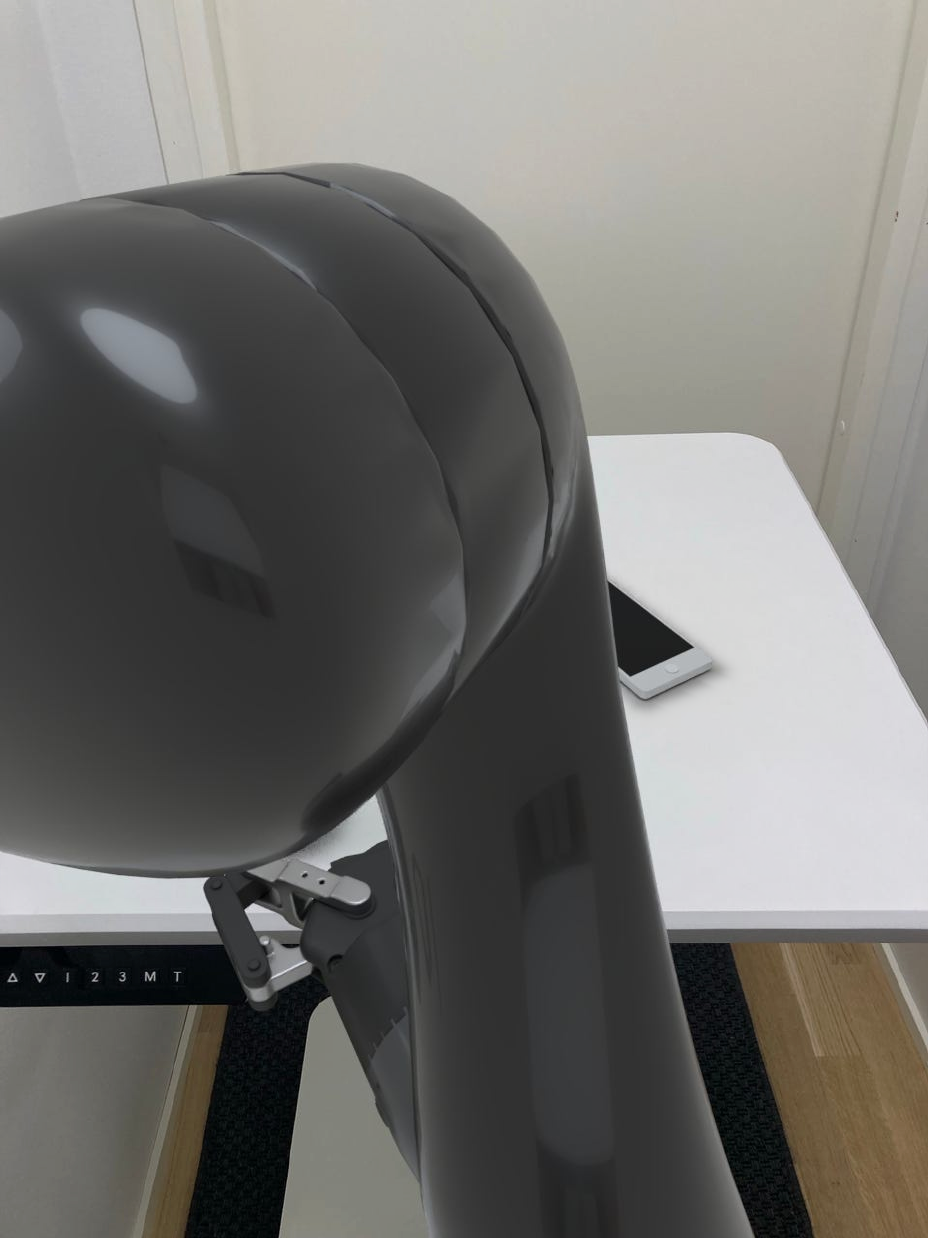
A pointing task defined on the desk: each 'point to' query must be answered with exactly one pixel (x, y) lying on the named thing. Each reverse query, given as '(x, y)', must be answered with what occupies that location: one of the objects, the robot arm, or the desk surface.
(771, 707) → the desk surface
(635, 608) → the smartphone
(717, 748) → the desk surface
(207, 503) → the robot arm
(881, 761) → the desk surface
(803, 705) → the desk surface
